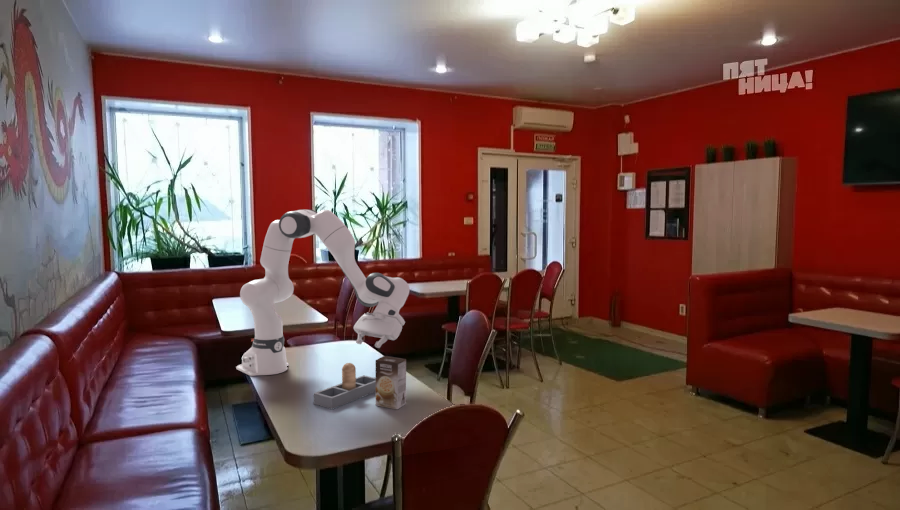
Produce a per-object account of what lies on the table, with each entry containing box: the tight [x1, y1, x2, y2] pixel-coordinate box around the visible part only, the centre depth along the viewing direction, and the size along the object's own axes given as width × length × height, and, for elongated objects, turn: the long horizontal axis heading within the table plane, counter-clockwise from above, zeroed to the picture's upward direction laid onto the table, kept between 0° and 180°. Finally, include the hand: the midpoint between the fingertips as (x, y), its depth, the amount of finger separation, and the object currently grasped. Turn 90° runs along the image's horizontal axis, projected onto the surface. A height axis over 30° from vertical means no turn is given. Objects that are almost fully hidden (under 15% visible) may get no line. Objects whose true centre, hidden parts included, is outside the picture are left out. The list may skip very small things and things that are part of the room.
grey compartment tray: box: [313, 375, 376, 410], centre depth 193 cm, size 9×25×4 cm, turn 146°
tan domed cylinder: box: [341, 362, 357, 390], centre depth 193 cm, size 5×5×11 cm
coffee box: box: [375, 355, 407, 410], centre depth 184 cm, size 9×6×16 cm
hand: (367, 345), depth 200 cm, fingers open, 8 cm apart
